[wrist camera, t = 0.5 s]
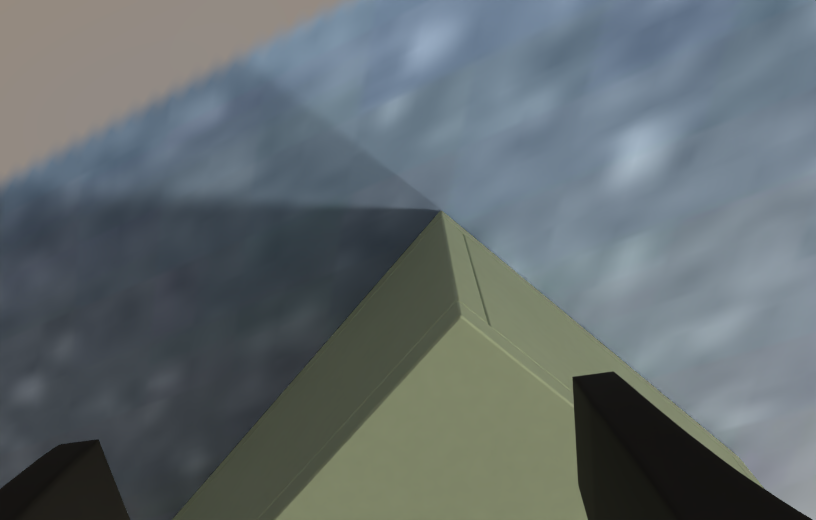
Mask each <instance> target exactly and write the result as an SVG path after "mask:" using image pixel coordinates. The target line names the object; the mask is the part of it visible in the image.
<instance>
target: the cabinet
mask: <svg viewBox="0 0 816 520" xmlns="http://www.w3.org/2000/svg"><path fill="white" fill-rule="evenodd" d="M612 371H614V372H615V373H616V374H617V375H619V376H620V377H621V378H622V379H624V380H625V381H626V382H627V383H628V384H630V385H631V386H632V387H633V388H634V389H636V390H637V391H638V392H639V393H640V394H641V395H643V396H644V397H645V398H646V399H647V400H648V401H650V402H651V403H652V404H653V405H654V406H656V407H657V408H658V409H659V410H660V411H662V412H663V413H664V414H665V415H666V416H668V417H669V418H670V419H671V420H672V421H674V422H675V423H676V424H677V425H679V426H680V427H681V428H682V429H684V430H685V431H686V432H687V433H689V434H690V435H691V436H692V437H694V438H695V439H696V440H698V441H699V442H700V443H701V444H703V445H704V446H705V447H707V448H708V449H709V450H711V451H712V452H713V453H715V454H716V455H717V456H718V457H720V458H721V459H722V460H724V461H725V462H726V463H728V464H729V465H730V466H732V467H733V468H735V469H736V470H737V471H739V472H740V473H742V474H743V475H745V476H746V477H748V478H749V479H750V480H752V481H753V482H755V483H756V484H758V485H759V486H761V487H762V488H763V486H762V485H761V484H760V483H759V482H758V480H757V479H756V478H755V477H754V475H753V474H752V473H751V472H750V471H749V469H748V468H747V467H746V466H745V464H744V463H743V462H742V461H741V459H740V458H739V457H738V456H737V455H735V454H734V453H733V452H732V451H731V450H729V449H728V448H727V447H726V446H725V445H723V444H722V443H721V442H720V441H719V440H717V439H716V438H715V437H714V436H713V435H711V434H710V433H709V432H708V431H707V430H705V429H704V428H703V427H702V426H700V425H699V424H698V423H697V422H696V421H694V420H693V419H692V418H691V417H690V416H688V415H687V414H686V413H685V412H684V411H682V410H681V409H680V408H679V407H678V406H676V405H675V404H674V403H673V402H672V401H670V400H669V399H668V398H667V397H666V396H664V395H663V394H662V393H661V392H660V391H658V390H657V389H656V388H655V387H654V386H652V385H651V384H650V383H649V382H647V381H646V380H645V379H644V378H643V377H641V376H640V375H639V374H638V373H637V372H635V371H634V370H633V369H632V368H631V367H629V366H628V365H627V364H626V363H625V362H623V361H622V360H621V359H620V358H619V357H617V356H616V355H615V354H614V353H613V352H611V351H610V350H609V349H608V348H607V347H605V346H604V345H603V344H602V343H601V342H599V341H598V340H597V339H596V338H594V337H593V336H592V335H591V334H590V333H588V332H587V331H586V330H585V329H584V328H582V327H581V326H580V325H579V324H578V323H576V322H575V321H574V320H573V319H572V318H570V317H569V316H568V315H567V314H566V313H564V312H563V311H562V310H561V309H560V308H558V307H557V306H556V305H555V304H554V303H552V302H551V301H550V300H549V299H548V298H546V297H545V296H544V295H543V294H541V293H540V292H539V291H538V290H537V289H535V288H534V287H533V286H532V285H531V284H529V283H528V282H527V281H526V280H525V279H523V278H522V277H521V276H520V275H519V274H517V273H516V272H515V271H514V270H513V269H511V268H510V267H509V266H508V265H507V264H505V263H504V262H503V261H502V260H501V259H499V258H498V257H497V256H496V255H495V254H493V253H492V252H491V251H490V250H488V249H487V248H486V247H485V246H484V245H482V244H481V243H480V242H479V241H478V240H476V239H475V238H474V237H473V236H472V235H470V234H469V233H468V232H467V231H466V230H464V229H463V228H462V227H461V226H460V225H458V224H457V223H456V222H455V221H454V220H452V219H451V218H450V217H449V216H448V215H446V214H445V213H444V212H443V211H440V212H439V213H438V214H437V215H436V216H435V217H434V219H433V220H432V221H431V222H430V223H429V224H428V225H427V227H426V228H425V229H424V230H423V231H422V232H421V234H420V235H419V236H418V237H417V238H416V239H415V240H414V242H413V243H412V244H411V245H410V246H409V247H408V249H407V250H406V251H405V252H404V253H403V254H402V255H401V257H400V258H399V259H398V260H397V261H396V262H395V263H394V265H393V266H392V267H391V268H390V269H389V270H388V272H387V273H386V274H385V275H384V276H383V277H382V278H381V280H380V281H379V282H378V283H377V284H376V285H375V287H374V288H373V289H372V290H371V291H370V292H369V293H368V295H367V296H366V297H365V298H364V299H363V300H362V302H361V303H360V304H359V305H358V306H357V307H356V308H355V310H354V311H353V312H352V313H351V314H350V315H349V317H348V318H347V319H346V320H345V321H344V322H343V323H342V325H341V326H340V327H339V328H338V329H337V330H336V331H335V333H334V334H333V335H332V336H331V337H330V338H329V340H328V341H327V342H326V343H325V344H324V345H323V346H322V348H321V349H320V350H319V351H318V352H317V353H316V355H315V356H314V357H313V358H312V359H311V360H310V361H309V363H308V364H307V365H306V366H305V367H304V368H303V370H302V371H301V372H300V373H299V374H298V375H297V376H296V378H295V379H294V380H293V381H292V382H291V383H290V384H289V386H288V387H287V388H286V389H285V390H284V391H283V393H282V394H281V395H280V396H279V397H278V398H277V399H276V401H275V402H274V403H273V404H272V405H271V406H270V408H269V409H268V410H267V411H266V412H265V413H264V414H263V416H262V417H261V418H260V419H259V420H258V421H257V423H256V424H255V425H254V426H253V427H252V428H251V429H250V431H249V432H248V433H247V434H246V435H245V436H244V437H243V439H242V440H241V441H240V442H239V443H238V444H237V446H236V447H235V448H234V449H233V450H232V451H231V452H230V454H229V455H228V456H227V457H226V458H225V459H224V461H223V462H222V463H221V464H220V465H219V466H218V467H217V469H216V470H215V471H214V472H213V473H212V474H211V476H210V477H209V478H208V479H207V480H206V481H205V482H204V484H203V485H202V486H201V487H200V488H199V489H198V490H197V492H196V493H195V494H194V495H193V496H192V497H191V499H190V500H189V501H188V502H187V503H186V504H185V505H184V507H183V508H182V509H181V510H180V511H179V512H178V514H177V515H176V516H175V517H174V518H173V519H172V520H588V518H587V515H586V511H585V508H584V504H583V500H582V497H581V493H580V490H579V486H578V473H577V455H576V436H575V418H574V399H573V381H572V377H575V376H582V375H590V374H597V373H605V372H612Z"/></svg>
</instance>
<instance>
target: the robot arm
mask: <svg viewBox="0 0 816 520" xmlns="http://www.w3.org/2000/svg"><path fill="white" fill-rule="evenodd" d="M572 381H573V399H574V418H575V436H576V455H577V473H578V486H579V490H580V493H581V497H582V500H583V504H584V508H585V511H586V515H587V518H588V520H812V519H811V518H809V517H807V516H806V515H804V514H802V513H801V512H799V511H797V510H796V509H794V508H793V507H791V506H789V505H788V504H786V503H785V502H783V501H782V500H780V499H778V498H777V497H775V496H774V495H772V494H771V493H769V492H768V491H767V490H765V489H764V488H762V487H761V486H759V485H758V484H756V483H755V482H753V481H752V480H750V479H749V478H748V477H746V476H745V475H743V474H742V473H740V472H739V471H737V470H736V469H735V468H733V467H732V466H730V465H729V464H728V463H726V462H725V461H724V460H722V459H721V458H720V457H718V456H717V455H716V454H715V453H713V452H712V451H711V450H709V449H708V448H707V447H705V446H704V445H703V444H701V443H700V442H699V441H698V440H696V439H695V438H694V437H692V436H691V435H690V434H689V433H687V432H686V431H685V430H684V429H682V428H681V427H680V426H679V425H677V424H676V423H675V422H674V421H672V420H671V419H670V418H669V417H668V416H666V415H665V414H664V413H663V412H662V411H660V410H659V409H658V408H657V407H656V406H654V405H653V404H652V403H651V402H650V401H648V400H647V399H646V398H645V397H644V396H643V395H641V394H640V393H639V392H638V391H637V390H636V389H634V388H633V387H632V386H631V385H630V384H628V383H627V382H626V381H625V380H624V379H622V378H621V377H620V376H619V375H617V374H616V373H615V372H614V371H612V372H605V373H597V374H590V375H582V376H575V377H572ZM0 520H130V518H129V516H128V513H127V511H126V508H125V506H124V503H123V501H122V498H121V496H120V493H119V490H118V488H117V485H116V483H115V480H114V478H113V475H112V473H111V470H110V468H109V465H108V463H107V460H106V458H105V455H104V452H103V450H102V447H101V445H100V442H99V440H90V441H82V442H75V443H67V444H60V445H58V446H57V447H55V448H54V449H52V450H51V451H49V452H48V453H46V454H45V455H44V456H42V457H41V458H39V459H38V460H37V461H35V462H34V463H33V464H32V465H30V466H29V467H28V468H26V469H25V470H24V471H22V472H21V473H20V474H19V475H17V476H16V477H15V478H14V479H12V480H11V481H10V482H9V483H7V484H6V485H5V486H4V487H2V488H1V489H0Z"/></svg>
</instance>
